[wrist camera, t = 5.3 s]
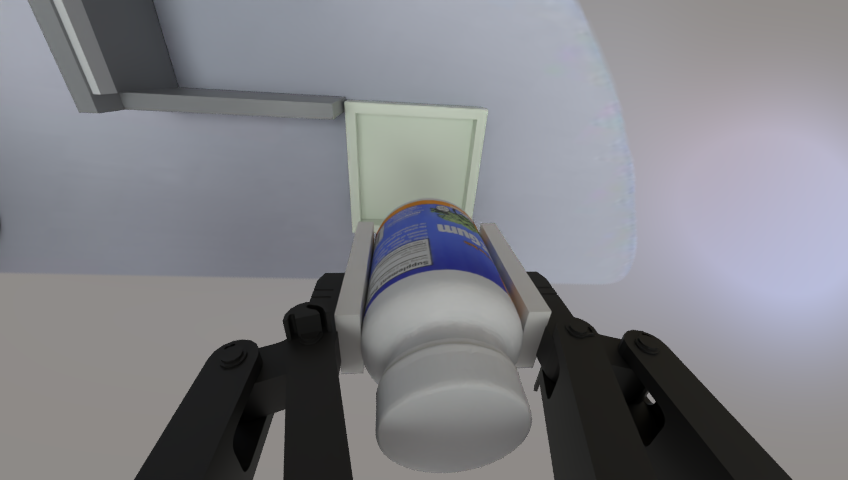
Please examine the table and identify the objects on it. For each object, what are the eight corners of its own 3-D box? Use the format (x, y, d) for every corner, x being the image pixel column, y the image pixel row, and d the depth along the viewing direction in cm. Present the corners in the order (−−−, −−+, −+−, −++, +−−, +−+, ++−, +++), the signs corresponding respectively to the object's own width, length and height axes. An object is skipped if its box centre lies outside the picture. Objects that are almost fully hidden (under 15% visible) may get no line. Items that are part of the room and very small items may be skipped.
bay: (169, 100, 24) (79, 112, 18) (115, -69, 20) (-40, -146, 13) (345, 109, 26) (327, 124, 19) (336, -46, 21) (306, -104, 14)
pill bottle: (495, 246, 16) (600, 433, 8) (418, 299, 18) (439, 505, 9) (434, 171, 14) (491, 321, 6) (352, 238, 16) (299, 440, 7)
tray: (355, 223, 31) (352, 232, 29) (347, 99, 25) (344, 101, 24) (465, 225, 32) (469, 234, 30) (482, 107, 27) (488, 109, 25)
